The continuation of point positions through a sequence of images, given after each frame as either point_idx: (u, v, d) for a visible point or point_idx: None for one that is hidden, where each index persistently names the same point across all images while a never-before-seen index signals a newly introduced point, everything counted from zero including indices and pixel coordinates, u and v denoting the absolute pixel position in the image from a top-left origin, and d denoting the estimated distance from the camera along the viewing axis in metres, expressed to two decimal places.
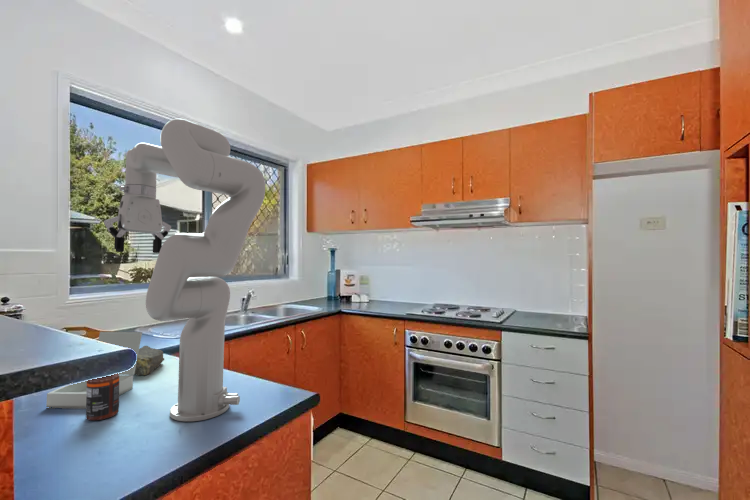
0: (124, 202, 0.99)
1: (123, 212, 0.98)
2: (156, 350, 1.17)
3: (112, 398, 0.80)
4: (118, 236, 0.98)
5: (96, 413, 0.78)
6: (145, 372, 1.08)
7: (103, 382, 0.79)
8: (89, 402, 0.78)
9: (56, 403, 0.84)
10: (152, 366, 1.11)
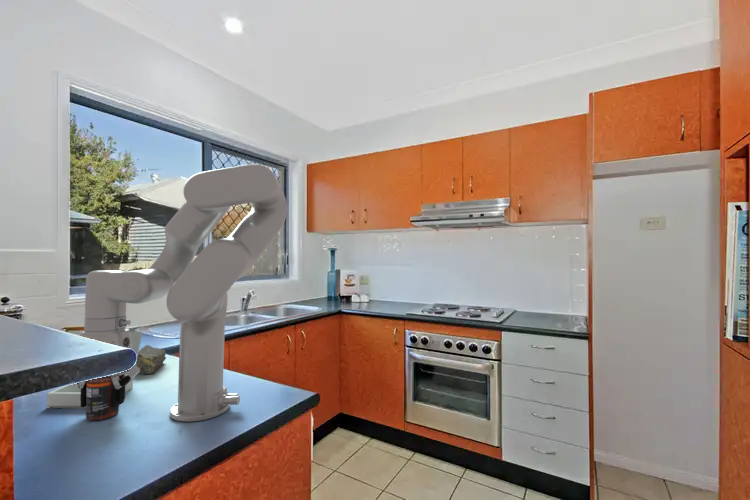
0: (130, 338, 0.83)
1: None
2: (158, 349, 1.18)
3: None
4: None
5: (96, 413, 0.78)
6: (150, 371, 1.09)
7: (103, 382, 0.79)
8: (89, 402, 0.78)
9: (56, 403, 0.84)
10: (156, 365, 1.12)
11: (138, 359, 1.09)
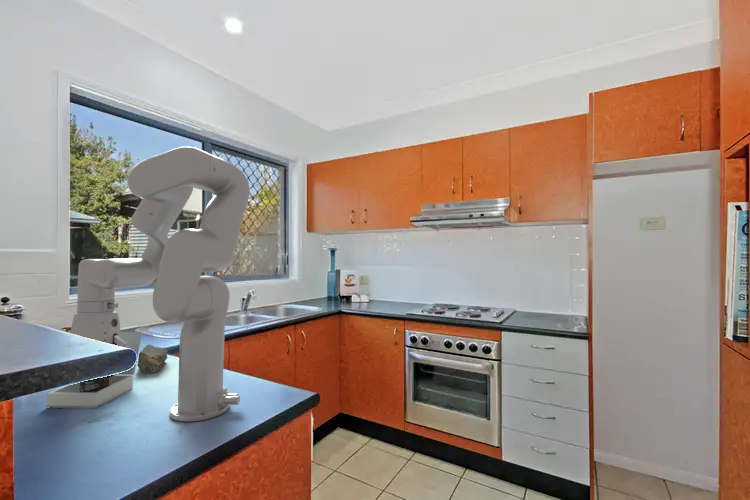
0: (118, 319, 0.93)
1: (119, 330, 0.93)
2: (161, 348, 1.19)
3: (103, 378, 0.90)
4: None
5: (88, 392, 0.88)
6: (155, 370, 1.10)
7: None
8: (82, 382, 0.88)
9: (56, 403, 0.84)
10: (160, 364, 1.13)
11: (143, 358, 1.10)
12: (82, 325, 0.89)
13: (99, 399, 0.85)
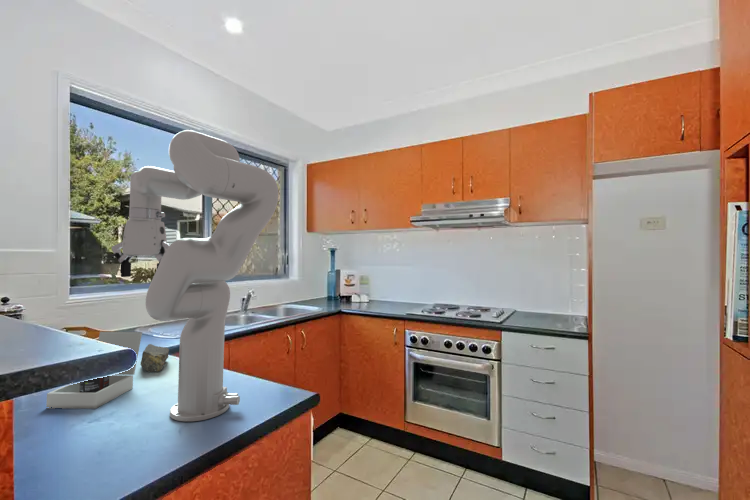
0: (164, 229, 1.03)
1: (165, 239, 1.03)
2: (163, 348, 1.20)
3: (103, 379, 0.90)
4: None
5: (88, 392, 0.88)
6: (159, 368, 1.12)
7: None
8: (82, 382, 0.88)
9: (56, 403, 0.84)
10: (163, 363, 1.15)
11: (147, 357, 1.11)
12: (134, 230, 0.98)
13: (99, 399, 0.85)
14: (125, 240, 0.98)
